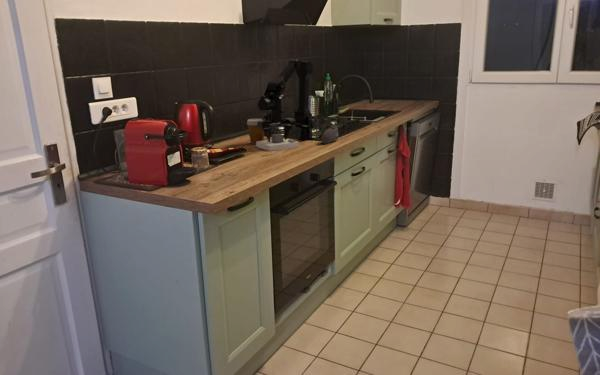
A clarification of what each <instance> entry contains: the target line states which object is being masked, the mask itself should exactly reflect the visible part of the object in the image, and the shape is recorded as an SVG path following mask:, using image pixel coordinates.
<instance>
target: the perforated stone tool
mask: <svg viewBox="0 0 600 375" xmlns="http://www.w3.org/2000/svg"><path fill="white" fill-rule="evenodd" d="M338 138H339V128H338V127H337V126H334V127H333V126H332V127H330V128H328V129H327V128H326V130H324V131H323V132H322V134H321V138H320V140H321V143H323V144H330V142H331V143H334V142H335V141H337V140H338Z"/></svg>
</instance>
